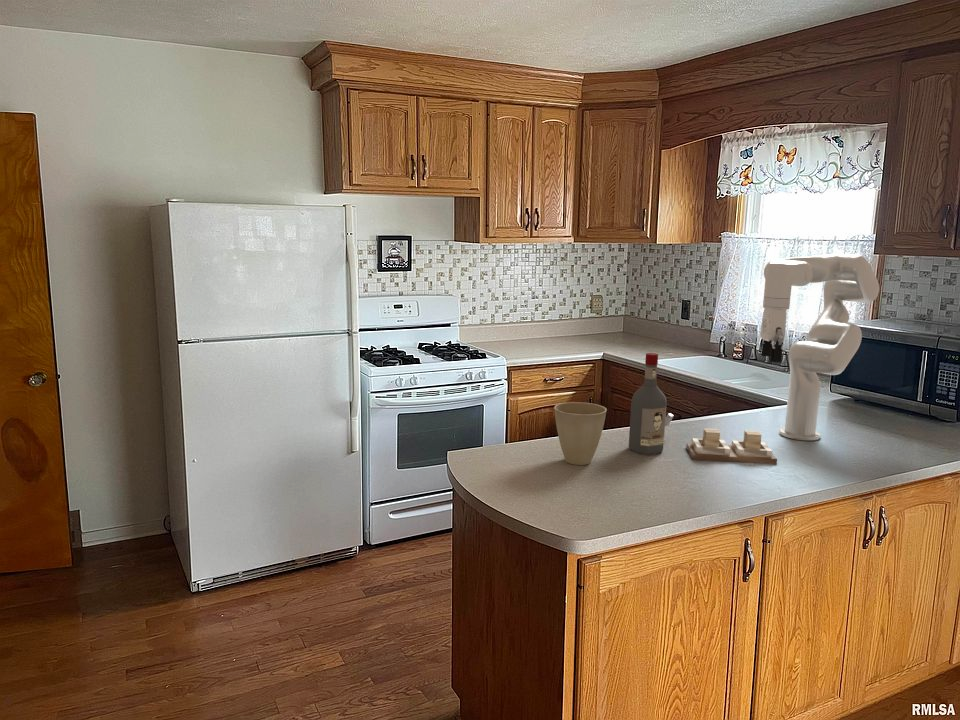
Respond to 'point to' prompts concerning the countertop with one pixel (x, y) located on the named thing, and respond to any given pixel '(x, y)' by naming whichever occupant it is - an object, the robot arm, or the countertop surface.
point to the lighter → (668, 420)
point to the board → (734, 450)
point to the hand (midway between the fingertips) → (771, 358)
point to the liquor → (648, 413)
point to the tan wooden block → (711, 437)
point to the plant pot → (579, 430)
